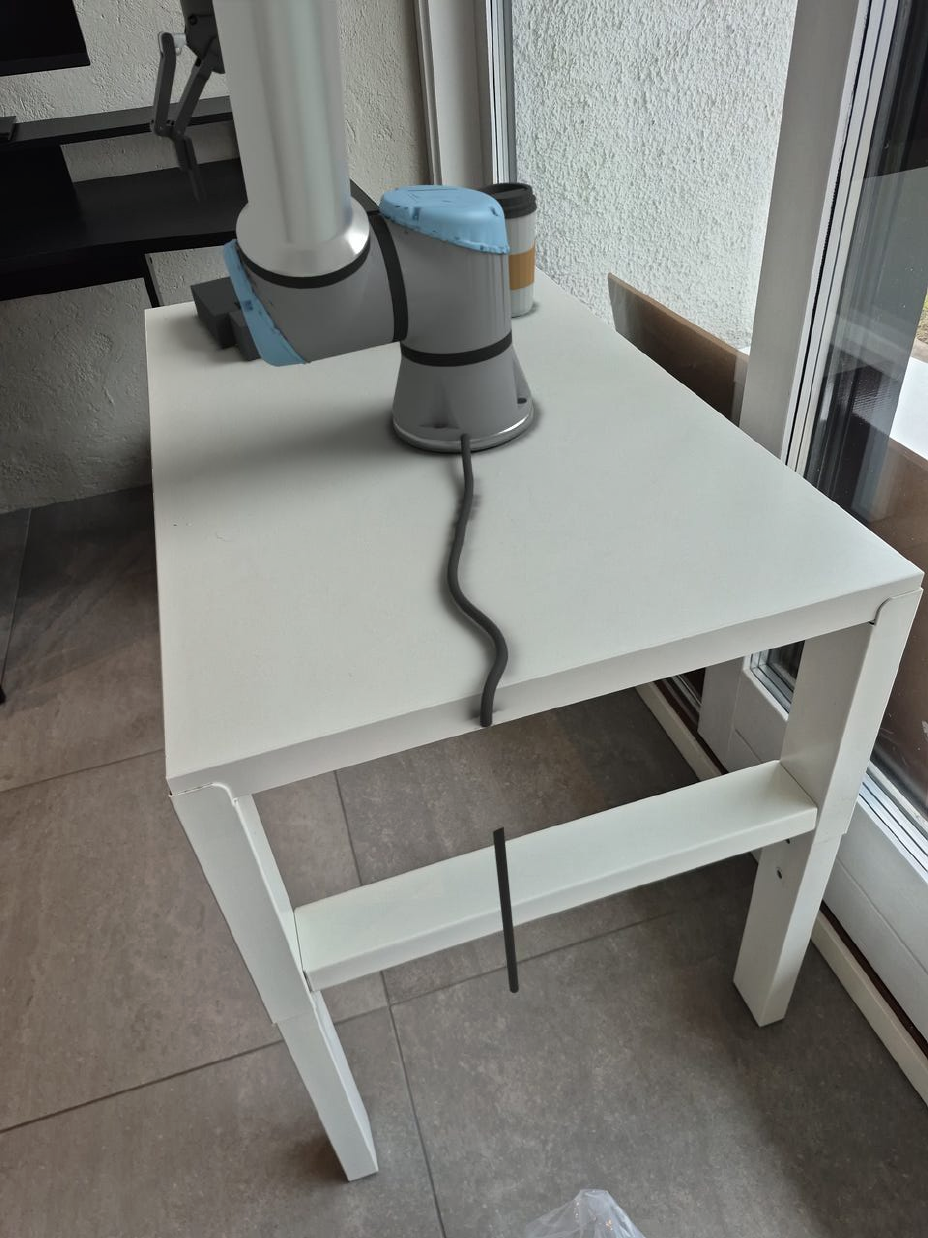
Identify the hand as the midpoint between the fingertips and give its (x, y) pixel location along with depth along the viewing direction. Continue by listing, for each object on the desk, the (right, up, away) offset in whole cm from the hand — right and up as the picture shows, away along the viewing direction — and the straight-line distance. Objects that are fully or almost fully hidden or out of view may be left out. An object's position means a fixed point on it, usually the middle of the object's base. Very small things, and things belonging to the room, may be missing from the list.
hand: (257, 187), depth 107 cm
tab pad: (-2, -14, +13) cm, 20 cm away
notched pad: (-5, -9, +20) cm, 23 cm away
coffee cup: (+31, -9, +15) cm, 35 cm away
